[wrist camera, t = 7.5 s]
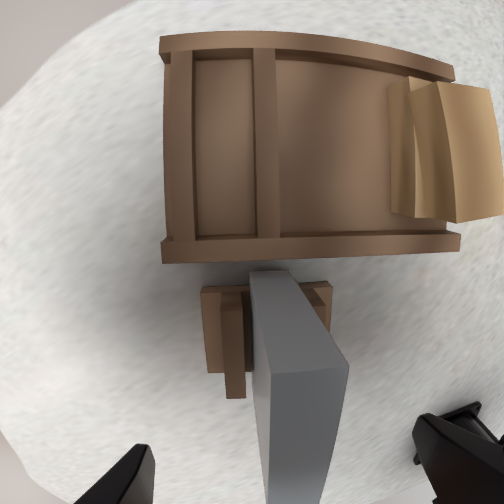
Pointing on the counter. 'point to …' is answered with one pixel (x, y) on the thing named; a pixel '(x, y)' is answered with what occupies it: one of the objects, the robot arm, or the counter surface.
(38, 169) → the counter surface
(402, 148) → the offcut
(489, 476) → the robot arm
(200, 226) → the rack
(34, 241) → the counter surface
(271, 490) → the gray rectangular block
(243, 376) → the stand
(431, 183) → the offcut
